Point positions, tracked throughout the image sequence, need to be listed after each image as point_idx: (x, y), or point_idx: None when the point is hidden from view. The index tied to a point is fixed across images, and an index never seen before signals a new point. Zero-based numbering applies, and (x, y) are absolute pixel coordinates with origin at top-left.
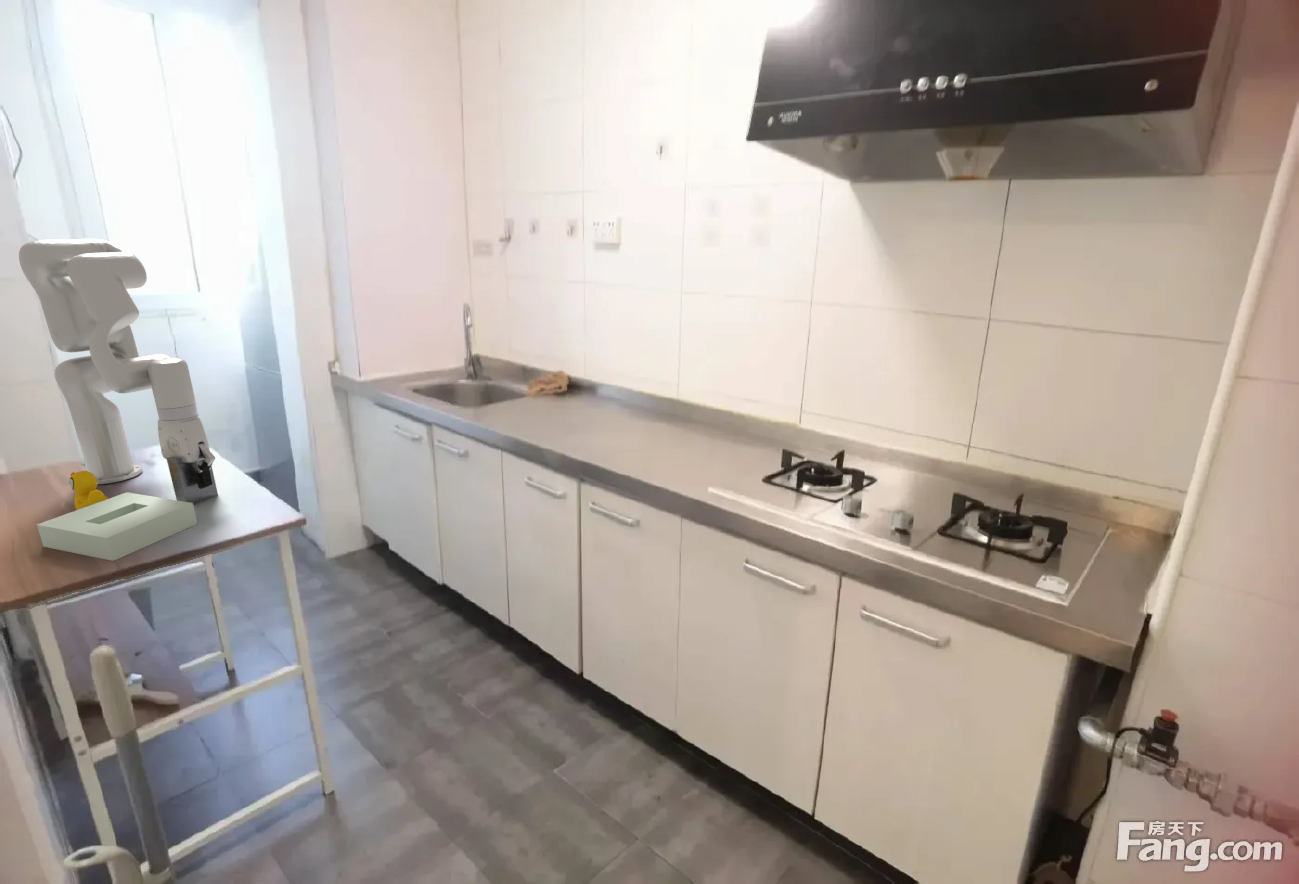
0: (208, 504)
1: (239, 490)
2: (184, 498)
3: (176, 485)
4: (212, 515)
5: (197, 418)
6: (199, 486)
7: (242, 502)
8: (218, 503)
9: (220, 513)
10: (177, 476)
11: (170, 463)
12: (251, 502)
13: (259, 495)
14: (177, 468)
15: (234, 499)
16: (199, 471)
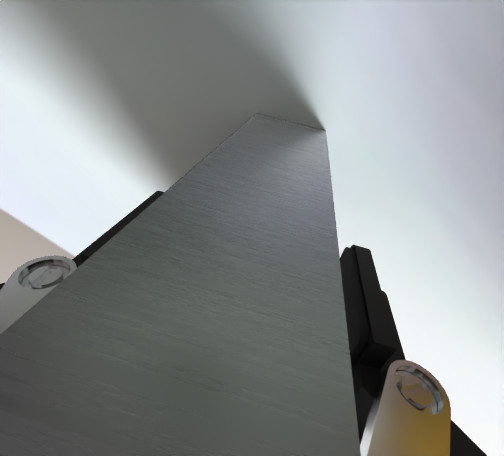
0: (184, 159)
1: None
2: (251, 125)
3: (286, 164)
4: (40, 17)
5: None
6: (152, 195)
7: (70, 187)
8: (151, 173)
9: (32, 52)
10: (222, 192)
11: (256, 367)
12: (40, 188)
13: (78, 248)
14: (130, 247)
15: None
16: (46, 269)
